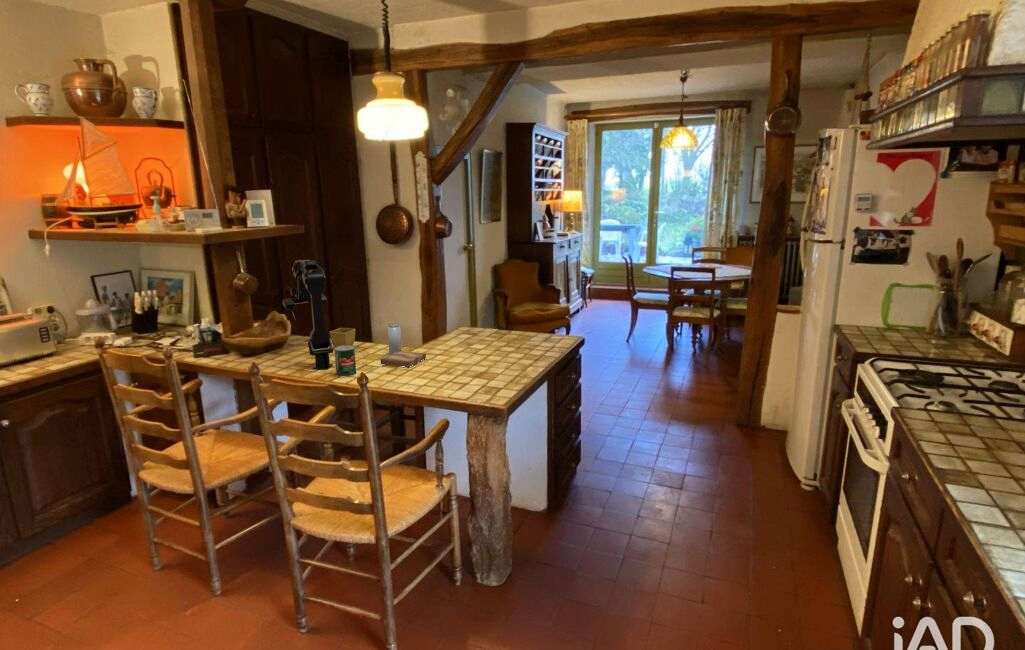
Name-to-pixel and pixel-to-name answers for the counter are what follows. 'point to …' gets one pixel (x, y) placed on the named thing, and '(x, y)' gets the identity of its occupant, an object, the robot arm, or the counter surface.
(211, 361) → the counter surface
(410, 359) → the board
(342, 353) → the canned tomato
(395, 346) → the grey can
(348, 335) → the flower pot
